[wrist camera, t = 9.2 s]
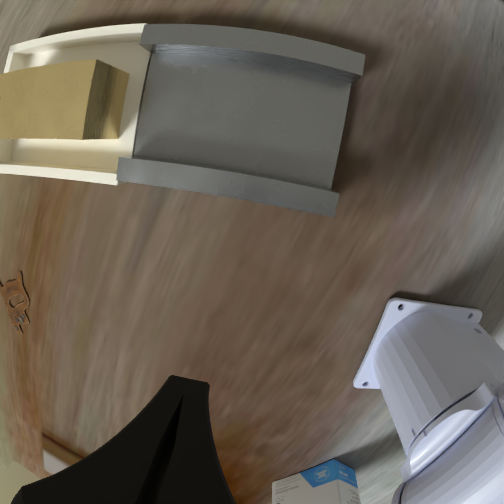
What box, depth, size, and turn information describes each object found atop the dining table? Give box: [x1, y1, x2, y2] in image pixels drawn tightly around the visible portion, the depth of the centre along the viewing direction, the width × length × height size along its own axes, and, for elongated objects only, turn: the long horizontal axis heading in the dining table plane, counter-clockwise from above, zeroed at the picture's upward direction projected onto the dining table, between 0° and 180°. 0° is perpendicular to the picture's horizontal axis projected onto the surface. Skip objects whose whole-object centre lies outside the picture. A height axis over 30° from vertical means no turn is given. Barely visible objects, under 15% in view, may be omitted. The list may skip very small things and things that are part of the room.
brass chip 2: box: [26, 59, 130, 140], centre depth 13 cm, size 4×4×4 cm
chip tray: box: [0, 23, 152, 185], centre depth 14 cm, size 11×9×2 cm
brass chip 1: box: [0, 66, 38, 139], centre depth 13 cm, size 4×4×4 cm
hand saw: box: [0, 270, 30, 334], centre depth 24 cm, size 24×5×1 cm, turn 5°
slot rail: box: [116, 24, 365, 217], centre depth 14 cm, size 11×8×3 cm
